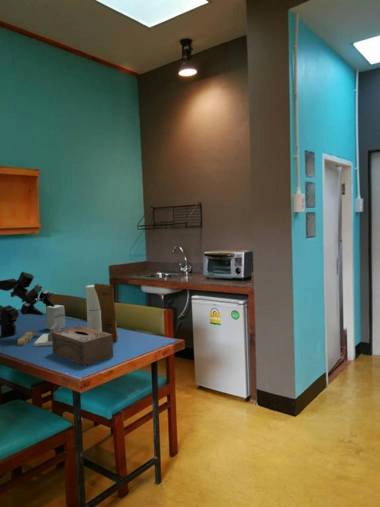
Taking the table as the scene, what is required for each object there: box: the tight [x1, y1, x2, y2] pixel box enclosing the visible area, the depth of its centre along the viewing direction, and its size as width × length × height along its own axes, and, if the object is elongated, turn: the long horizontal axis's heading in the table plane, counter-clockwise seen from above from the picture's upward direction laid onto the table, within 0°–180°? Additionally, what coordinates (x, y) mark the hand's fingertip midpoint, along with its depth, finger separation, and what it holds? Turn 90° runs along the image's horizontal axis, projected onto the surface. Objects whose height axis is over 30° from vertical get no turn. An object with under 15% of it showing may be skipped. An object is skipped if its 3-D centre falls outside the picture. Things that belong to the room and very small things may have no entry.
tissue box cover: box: [51, 325, 114, 366], centre depth 177 cm, size 26×14×10 cm, turn 48°
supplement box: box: [45, 304, 66, 330], centre depth 224 cm, size 7×7×13 cm
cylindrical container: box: [85, 284, 102, 331], centre depth 213 cm, size 7×7×25 cm
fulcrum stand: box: [33, 323, 62, 347], centre depth 200 cm, size 16×16×8 cm
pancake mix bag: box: [93, 282, 119, 343], centre depth 200 cm, size 7×19×28 cm, turn 33°
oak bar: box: [17, 329, 36, 346], centre depth 203 cm, size 18×3×3 cm, turn 6°
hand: (48, 310), depth 208 cm, fingers open, 9 cm apart
